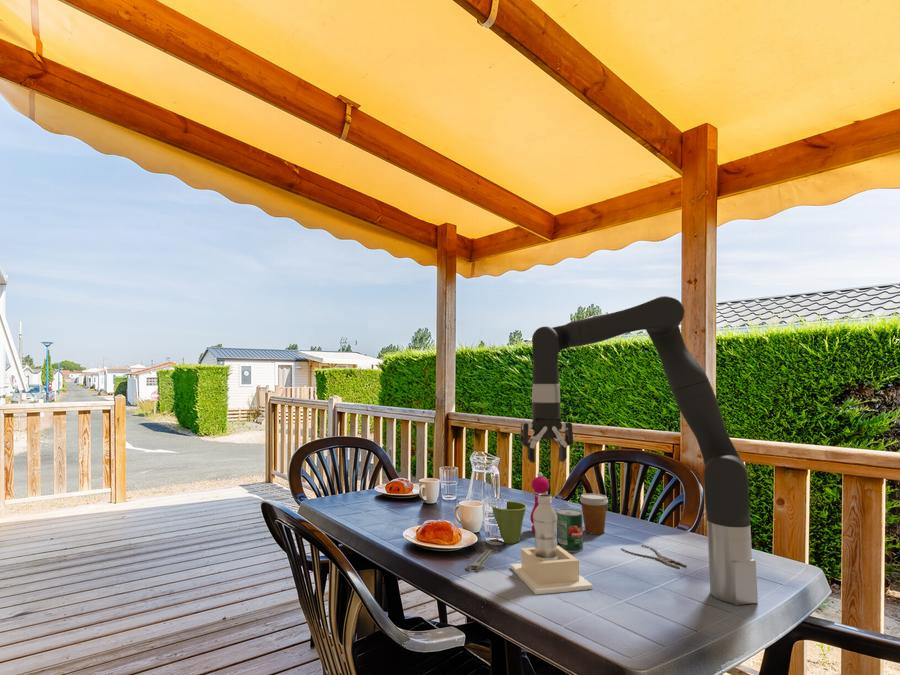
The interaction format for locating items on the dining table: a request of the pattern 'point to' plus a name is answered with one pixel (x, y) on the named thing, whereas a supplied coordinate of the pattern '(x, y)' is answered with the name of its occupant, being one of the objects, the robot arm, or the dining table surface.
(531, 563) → the housing
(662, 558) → the pliers
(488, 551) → the wrench
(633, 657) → the dining table surface
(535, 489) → the pepper mill
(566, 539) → the canned tomato
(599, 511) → the disposable coffee cup
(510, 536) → the plant pot
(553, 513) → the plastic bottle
